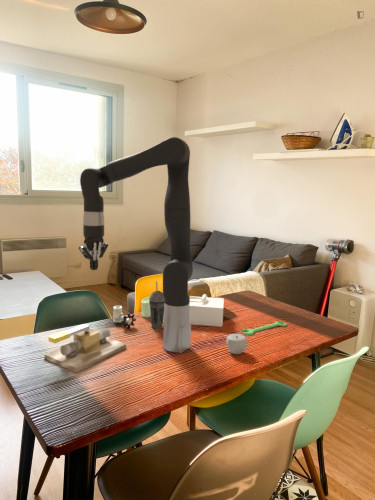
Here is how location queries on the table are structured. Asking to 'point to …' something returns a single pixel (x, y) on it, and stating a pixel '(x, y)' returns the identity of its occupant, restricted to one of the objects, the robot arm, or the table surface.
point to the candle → (146, 307)
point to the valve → (122, 317)
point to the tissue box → (206, 311)
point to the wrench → (251, 331)
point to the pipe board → (85, 358)
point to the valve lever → (68, 333)
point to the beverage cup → (156, 308)
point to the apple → (236, 343)
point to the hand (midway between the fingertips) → (94, 269)
